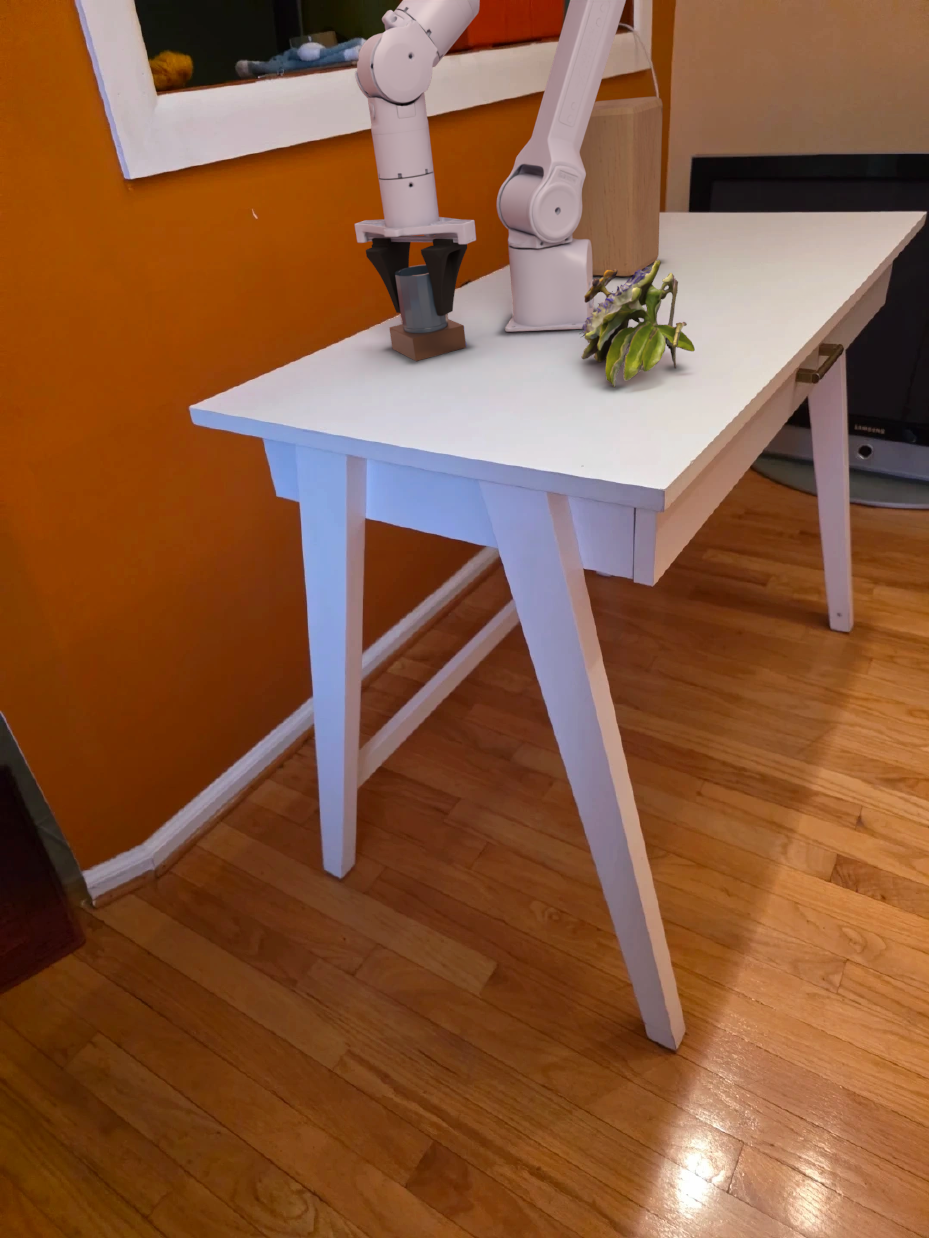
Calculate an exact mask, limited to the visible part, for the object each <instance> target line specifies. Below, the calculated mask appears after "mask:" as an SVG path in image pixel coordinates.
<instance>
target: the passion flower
mask: <svg viewBox="0 0 929 1238" xmlns="http://www.w3.org/2000/svg"><path fill="white" fill-rule="evenodd" d="M661 263H662V262H661V260H660V259H657V260H656V261H654V262H653V265H652V266H651V269H650V267H648V266H647V267H645V268H643V269H642V270H638V271H636V272H635V273H634V275H632V276H631V278H628V279H627V280H626V282H624V284H620V286H619V285H617V287H616V291H615V292H614V290H612V291H611V292H610V291H609V290H608V289H607V285H609V283H610V282H612V280H614V278H615V277H617V276H616V274H617V273H618V270H617V269H615V270H613V271H612V270H607V271H606V272H605V273H604V275H603V276H600V277H599V278H598V277H595V278H593V283H592V285H593V286H592V287H591V288H590V290H589V291H588V292H587V294H586V295H585V296H584V297H585V303H587V302H589V301H590V300H592V299H593V298H594V299H595V297H596V296H597V294H599V293H603V294H604V295H605V299H604V300H603V301H601V302H597V305H598V306H597V307H596V311H593V313H591V314H592V315H591V317H588V318H587V319H586V321H585V323H586V324H584V325H583V327H582V328H583V330H582V331H581V332H580V333H579V335H581V336H580V337H579V338H580V339H581V338H584V339H585V340H586V341H587V343H588V345H587V346H586V347H585V348H584V349H583V353H582V354H581V359H583V360H586V359H589V358H590V357H592V356H593V359H594V361H596V362H598V363H602V362H604V361H605V368H604V372H605V380H606V381H607V382H608V383H610V384H611V385H612V388H615V387H616V383H617V382H616V381H617V376H618V374H619V372H620V370H621V368H622V366H623V364H624V366H623V373H622V375H623V380H624V381H629V380H631V379H632V378H634V377H635V376H637V375H638V374H639V373H640V372H644V373H646V372H649V371H651V369H653V368H654V367H655V366H657V364H658V363H659V362H660V360H661V359H662V357H663V355H664V354H665V351H666V347H667V348H668V349H669V352H670V355H671V360H672V363H673V368H674V369H677V357H676V356H677V353H676V351H677V349H678V348H679V349H681V350H684V351H686V352H687V351H688V352H695V351H696V350H695V346H694V343H693V342H692V340H691V339H690V338H689V337H688V336H687V335H686V334H685V333H684V332H683V331H682V329H683V328H684V327H687V325H688V323H687V322H686V321H683V322H676V323H675V326H674V325H673V324H674V317H675V308H676V301H677V296H678V295H677V294H678V290H679V287H678V285H679V281H678V280H677V279H676V278H675V275H674V274H673V272H669V273H668V274H667V276H666V277H665V278H663V279H662V280H661V281H662V284H661V287H660V288H656V287H655V285H653V282H654V281H655V278H656V276H657V274H658V272H659V270H660V266H661ZM667 286H668V288H667ZM666 288H667V289H666ZM670 293H671V296H672V299H671V304H670V305H671V306H670V310H669V311H670V313H669V320H668V323H667V324H659V323H658V321H657V319H658V313H659V311H660V307H661V304H662V300H664V299H666V298H667V295H669V294H670ZM643 306H645V307H646V309H645V308H644V307H643ZM640 319H643V321H641V320H640ZM630 320H632V321H634V322H636V323H638V324H636V325H635V326H634V327H633V326H629V324H630ZM582 334H583V335H582Z"/></svg>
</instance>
